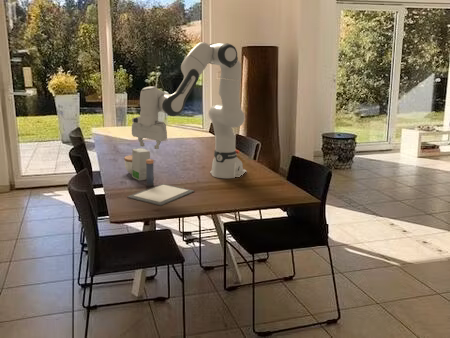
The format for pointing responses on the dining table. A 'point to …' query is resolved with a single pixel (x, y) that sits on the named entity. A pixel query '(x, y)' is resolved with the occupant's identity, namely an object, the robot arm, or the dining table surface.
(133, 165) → the skincare box
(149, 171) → the marker
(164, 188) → the mat
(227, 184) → the dining table surface
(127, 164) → the lidded bowl
